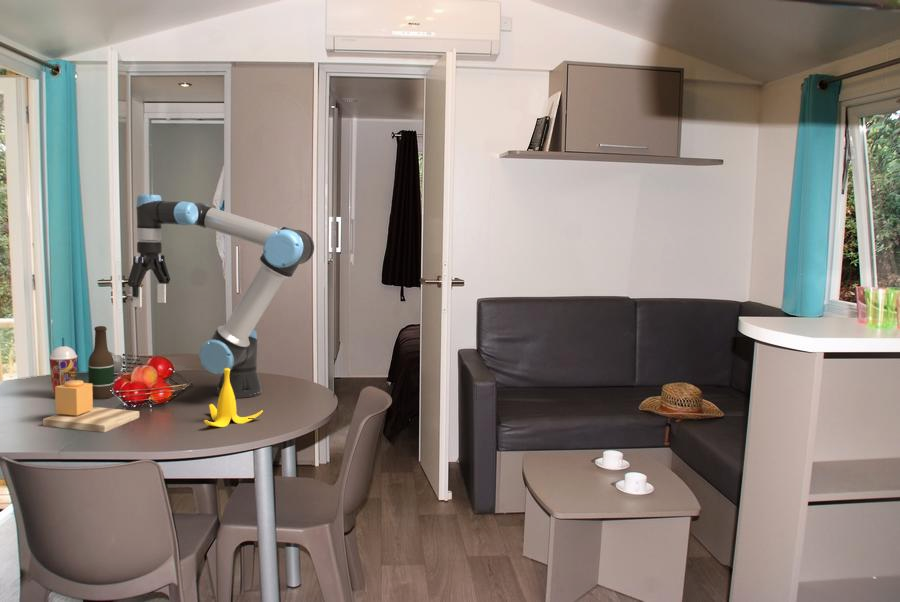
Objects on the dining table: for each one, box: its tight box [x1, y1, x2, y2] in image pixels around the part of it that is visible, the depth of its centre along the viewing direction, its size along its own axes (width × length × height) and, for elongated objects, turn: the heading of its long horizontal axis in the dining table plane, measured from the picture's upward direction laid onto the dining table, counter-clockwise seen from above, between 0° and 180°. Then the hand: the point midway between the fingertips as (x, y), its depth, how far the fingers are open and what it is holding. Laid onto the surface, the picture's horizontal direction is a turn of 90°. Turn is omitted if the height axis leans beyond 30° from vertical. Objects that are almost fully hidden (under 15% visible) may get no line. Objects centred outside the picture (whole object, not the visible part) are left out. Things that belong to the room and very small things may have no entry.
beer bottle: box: [87, 325, 115, 400], centre depth 240 cm, size 8×8×24 cm
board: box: [42, 406, 140, 433], centre depth 212 cm, size 20×16×9 cm
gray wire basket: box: [109, 351, 152, 376], centre depth 270 cm, size 27×11×10 cm, turn 82°
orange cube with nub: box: [54, 379, 94, 415], centre depth 213 cm, size 7×7×9 cm
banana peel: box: [203, 368, 264, 428], centre depth 215 cm, size 17×19×17 cm
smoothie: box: [48, 337, 79, 397], centre depth 238 cm, size 8×8×20 cm
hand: (149, 304), depth 239 cm, fingers open, 13 cm apart
